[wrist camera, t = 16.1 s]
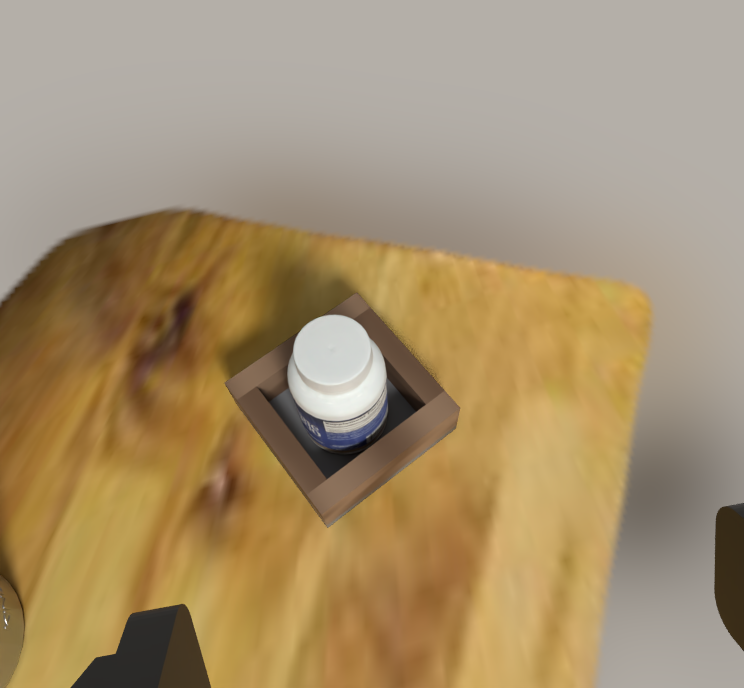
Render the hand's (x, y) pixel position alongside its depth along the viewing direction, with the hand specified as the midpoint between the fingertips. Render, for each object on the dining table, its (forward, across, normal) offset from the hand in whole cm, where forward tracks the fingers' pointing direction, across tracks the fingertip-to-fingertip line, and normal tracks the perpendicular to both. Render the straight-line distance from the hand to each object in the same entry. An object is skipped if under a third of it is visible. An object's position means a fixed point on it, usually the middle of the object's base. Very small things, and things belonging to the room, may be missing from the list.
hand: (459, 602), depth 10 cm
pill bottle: (+32, +2, +11) cm, 34 cm away
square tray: (+32, +2, +11) cm, 34 cm away
